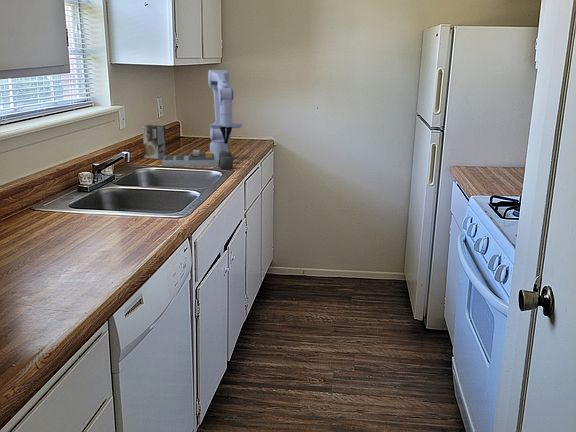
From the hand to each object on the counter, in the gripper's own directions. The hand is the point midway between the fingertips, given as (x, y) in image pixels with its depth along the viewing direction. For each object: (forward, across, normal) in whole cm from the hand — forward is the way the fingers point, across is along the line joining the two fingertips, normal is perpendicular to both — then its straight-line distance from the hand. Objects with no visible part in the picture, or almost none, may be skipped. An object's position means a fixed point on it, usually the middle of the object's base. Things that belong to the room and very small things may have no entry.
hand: (225, 143), depth 273 cm
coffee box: (+11, -35, +21) cm, 42 cm away
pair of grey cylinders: (+10, 0, 0) cm, 10 cm away
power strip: (+10, -16, +3) cm, 20 cm away
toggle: (+7, -8, 0) cm, 11 cm away
